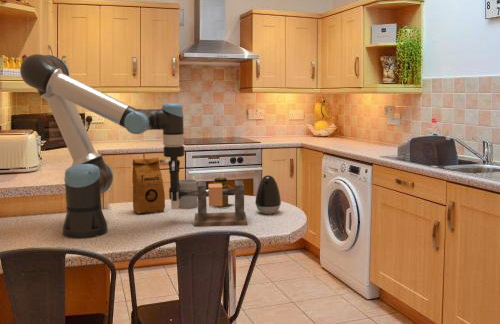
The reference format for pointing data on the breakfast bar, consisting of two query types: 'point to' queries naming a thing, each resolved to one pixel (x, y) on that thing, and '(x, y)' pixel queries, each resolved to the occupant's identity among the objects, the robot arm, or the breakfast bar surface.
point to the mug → (188, 201)
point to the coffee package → (147, 186)
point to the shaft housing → (220, 218)
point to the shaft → (195, 192)
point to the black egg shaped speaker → (268, 196)
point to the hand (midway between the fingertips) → (175, 207)
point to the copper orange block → (224, 198)
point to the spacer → (215, 194)
